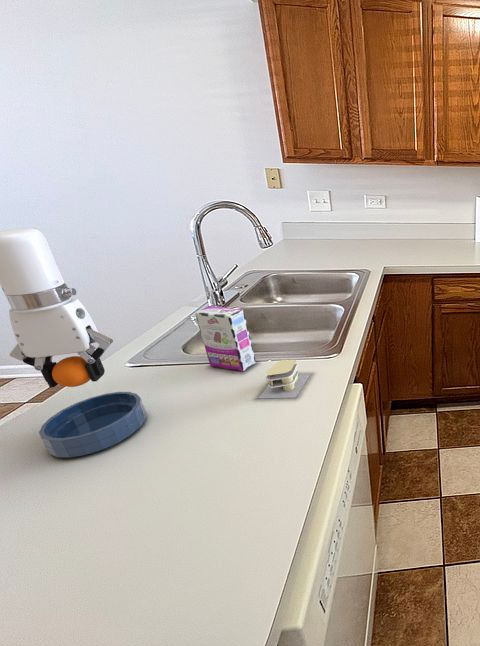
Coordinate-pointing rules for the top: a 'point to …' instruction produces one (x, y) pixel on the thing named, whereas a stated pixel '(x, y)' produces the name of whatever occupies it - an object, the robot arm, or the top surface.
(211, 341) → the candy bar box
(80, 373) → the orange
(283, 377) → the stacked layers on plate
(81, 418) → the bowl
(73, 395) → the top surface
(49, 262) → the robot arm
